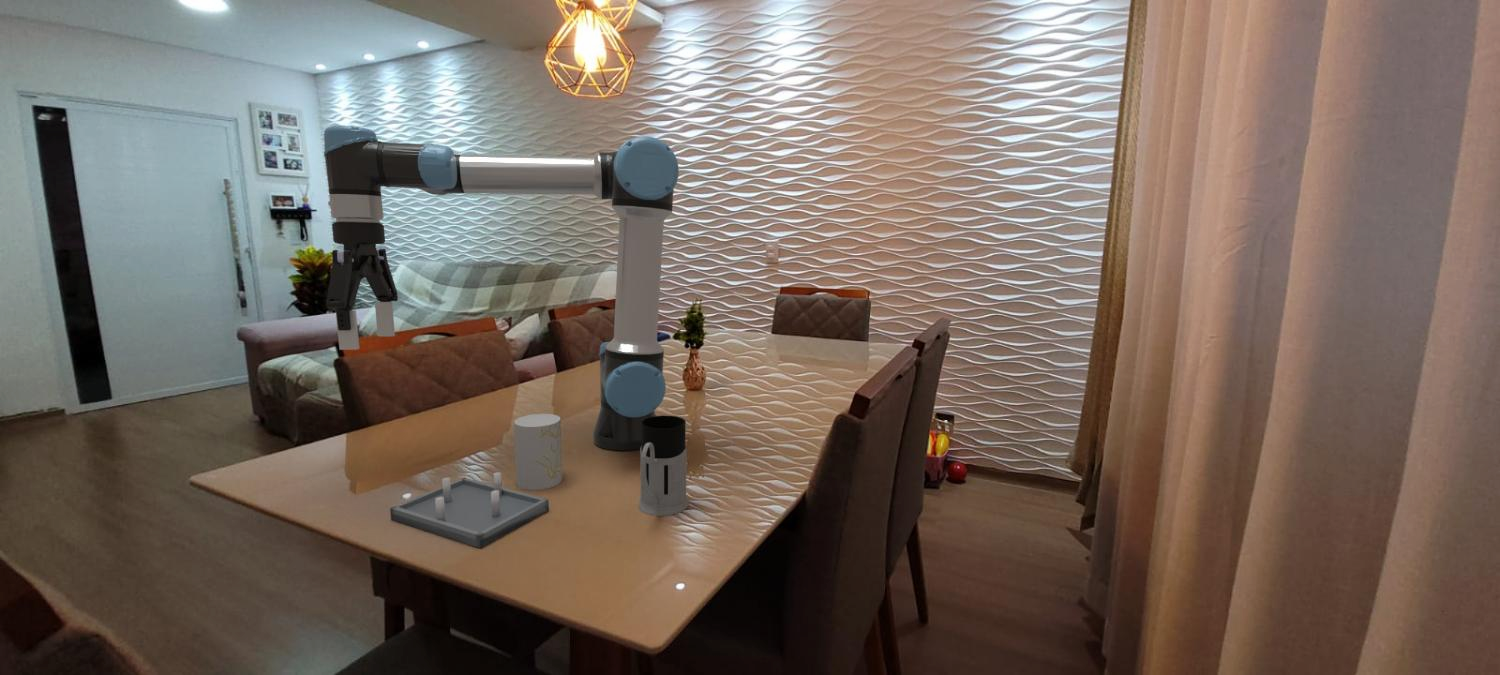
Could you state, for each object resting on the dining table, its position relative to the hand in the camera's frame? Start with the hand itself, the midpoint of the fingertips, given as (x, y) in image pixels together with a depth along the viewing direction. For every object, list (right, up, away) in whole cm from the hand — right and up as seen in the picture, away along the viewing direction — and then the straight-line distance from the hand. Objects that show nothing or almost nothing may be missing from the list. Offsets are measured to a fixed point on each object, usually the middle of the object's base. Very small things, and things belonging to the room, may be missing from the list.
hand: (369, 342), depth 105 cm
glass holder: (+52, -29, -5) cm, 60 cm away
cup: (+28, -27, +6) cm, 39 cm away
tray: (+22, -28, -8) cm, 37 cm away
